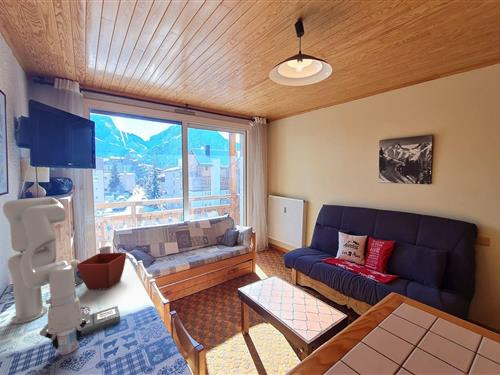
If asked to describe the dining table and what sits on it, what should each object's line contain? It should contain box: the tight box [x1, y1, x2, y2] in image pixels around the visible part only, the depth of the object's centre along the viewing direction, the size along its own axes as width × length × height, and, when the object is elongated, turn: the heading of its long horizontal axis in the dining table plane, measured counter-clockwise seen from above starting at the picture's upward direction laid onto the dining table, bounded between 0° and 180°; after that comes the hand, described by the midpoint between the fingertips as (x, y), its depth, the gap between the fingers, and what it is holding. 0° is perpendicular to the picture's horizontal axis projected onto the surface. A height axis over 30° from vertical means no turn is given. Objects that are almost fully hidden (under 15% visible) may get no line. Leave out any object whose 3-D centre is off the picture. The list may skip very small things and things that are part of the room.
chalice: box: [98, 245, 111, 254], centre depth 159 cm, size 7×7×18 cm
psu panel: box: [81, 305, 122, 337], centre depth 104 cm, size 20×10×3 cm, turn 126°
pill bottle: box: [57, 327, 79, 356], centre depth 90 cm, size 6×6×11 cm
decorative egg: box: [68, 259, 83, 285], centre depth 147 cm, size 12×12×15 cm
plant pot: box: [77, 252, 127, 291], centre depth 143 cm, size 19×19×17 cm
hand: (68, 342), depth 90 cm, fingers closed on pill bottle, 6 cm apart
